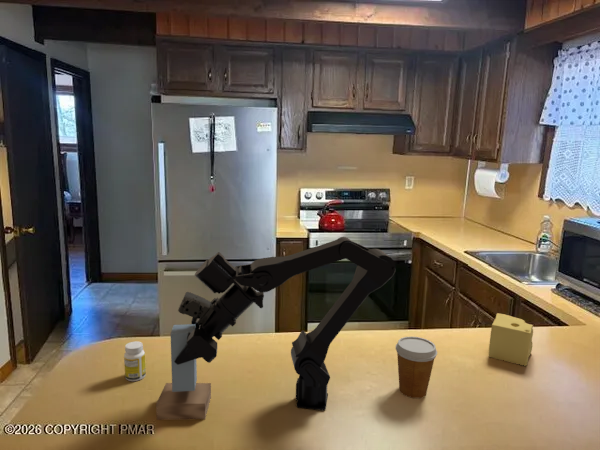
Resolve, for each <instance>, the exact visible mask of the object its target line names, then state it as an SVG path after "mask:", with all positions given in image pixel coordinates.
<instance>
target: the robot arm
mask: <svg viewBox="0 0 600 450" xmlns="http://www.w3.org/2000/svg"><path fill="white" fill-rule="evenodd" d="M342 260H347V261H350V262H351V263H353V264H355V265H356V269H355V273H354V275H353V277H352V280H351V282H350V283H349V284H348V285H347V287H346V288H345V289H344V291H343V292H342V293H341V295H340V296H339V297H338V298H337V300H336V301H335V302H334V304H333V305H332V306H331V307H330V309H329V310H328V312H326V314H325V316H323V318H322V319H321V321H320V322H319V323H318V324H317V326H316V327H315V328H314V329H313V330H311V331H309V332H307V333H306V331H305V330H301V332H300V333H299V335H298V337H297V338H296V339H295V340H294V341H292V342H291V346H292V347H291V350H290V355H291V356H290V357H291V361H292V365H293V368H294V371H295V373H296V374H297V375H298V378H297V380H296V383H295V401H297V402H296V403H295V404H296V407H297V408H301V409H308V410H316V411H317V410H318V411H326V409H327V405H328V404H327V403H328V397H329V393H328V384H329V382H330V380H331V375H330V374H329V370H328V368H327V366H326V363H325V360H326V358H327V354H328V352H329V348H330V345H331V344H332V342H333V341H334V339H335V338H336V337H337V336H338V335H339V333H340V332H341V330H343V328H344V327H345V326H346V324H347V323H348V322H349V320H350V319H351V318H352V316H353V315H354V314H355V313H356V312H357V310H358V309H359V308H360V306H361V305H362V304H363V302H365V301H366V299H367V297H368V296H369V295H370V294H371V293H373V292H375V291H376V290H379V289H380V288H382V287H383V286H384V285H385V284H386V283H387V282H389V280H390V279H392V278H393V277H394V275H395V273H396V269H397V268H396V263H395V261H394V259H393V258H391V256H389V255H388V254H387V253H385V252H384V251H382V250H381V249H379V248H368V247H366V246H364V245H361V244H360V243H357V242H355V241H353V240H351V239H350V238H348V237H346V236H340V237H339V238H337V239H335V240H332V241H329V242H326V243H323V244H319V245H316V246H314V247H311V248H307V249H305V250H302V251H298V252H295V253H292V254H290V255H284V256H270V257H262V258H258V259H255V260H254V261H252V262H251V263H247V264H242V265H235V266H233V265H232V264H231V262H229V261H228V260H227V259H226V258H225V257H224V255H223V254H222V253H221V252H217V253H216V254H215V255H213V256H211V257H210V258H209V259H206V260H205V261H204V262H203V263H202V264H201V265H200V267H199V268H198V269H197V270H196V272H194V276H195V278H196V279H198V280H199V281H200V282H201V283H202V284H204V286H206V287H207V288H208V289H209V290H210V291H211V292H212V293H213V294H217V293H218V294H222V295H221V296H220V297H214V298H213V299H211V301H210V300H208V299H206V298H204V297H202V296H199V294H198V295H197V294H195V293H192V292H189V291H187V292H186V291H185V293H184V295H183V297H182V299H181V302H180V304H179V307H178V309H177V312H178V313H180V314H182V315H187V316H189V317H192V319H191V323H190V324H196V329H194V330H193V331H192V332H191V333H189V332H188V336H187V342H186V343H187V344H186V346H185V347H184V348H183V350H182V351H181V352H180V354H179V355H178V356H177V358H176V359H175V361H174V362H175V363H176V364H177V365H179V364H182V363H185V362H188V361H191V360H194V359H196V360H197V359H201V358H202V359H203V360H204V361H205V362H206V363H208V364H209V363H212V361H213V360H215V358H217V357H218V341H219V340H220V339H221V338H222V337H223V333H224V332H225V331H226V330H227V329H228V328H229V327H230V326H231V327H234V326H235V325H236V324H237V319H239V317H240V316H242V315H243V314H244V313H245V312H246V310H247V309H248V308H250V307H251V306H252V305H253V304H255V305H256V306H257V307H258V308H260V309H263V308H264V297H265V295H264V293H268V292H270V291H272V290H274V289H276V288H278V287H281V286H282V285H283V284H284V283H286V282H287V281H288V280H290V279H291V278H292V277H295V276H297V275H300V274H303V273H306V272H310V271H312V270H314V269H319V268H321V267H324V266H328V265H329V264H333V263H336V262H339V261H342ZM214 337H215V339H216V340H218V341H216V340H215V339H214Z"/></svg>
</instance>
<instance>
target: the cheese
mask: <svg viewBox="0 0 600 450" xmlns="http://www.w3.org/2000/svg"><path fill="white" fill-rule="evenodd" d="M533 327H534V325H533V324H530V323H527V322H526V320H524V319H522V318H518V317H515V316H511V315H508V314H504V313H498V312H497V313H496V315H495V318H494V320H493V322H492V324H491V331H490V336H489V337H490V338H489V344H488V357H489V358H492V359H494V360H495V359H496V360H500V361H503V360H504V362H508V363H512V364H515V363H516V365H519V364H520V366H523V365H524V366H523V367H527V365H528V361H529V357H530V356H531V354H532V351H533V335H534V328H533Z"/></svg>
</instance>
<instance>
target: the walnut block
mask: <svg viewBox="0 0 600 450" xmlns="http://www.w3.org/2000/svg"><path fill="white" fill-rule="evenodd" d="M210 399H212V382H211V383H210V382H196V386H195V391H180V392H172V382H166V383H165V384H164V387H163V389H162V391H161V393H160V395H159V397H158V399H157V401H156V404H155V405H156V406H155V407H156V420H190V419H195V420H196V419H201V420H202V419H204V421H205V420H206V417H207V415H208V412H209V411H208V410H209V407H210V404H209V403H211V400H210ZM206 414H207V415H206ZM202 421H203V420H202Z"/></svg>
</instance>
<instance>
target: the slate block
mask: <svg viewBox="0 0 600 450" xmlns="http://www.w3.org/2000/svg"><path fill="white" fill-rule="evenodd" d="M194 329H196V324H191V323H187V324H173V326H172V328H171V332H170V357H171V358H170V362H171V383H172V392H180V391H195V386H196V383H197V381H198V376H197V372H198V371H197V366H198V365H197V359H194V360H191V361H188V362H185V363H182V364H179V365H177V364H176V363H175V362H174V361H175V359H176V358H177V356H178V355H179V354H180V352H181V351H182V350H183V348H184V347H185V346H186V344H187V343H186V342H187V336H188V332H189V333H191V332H192V331H193V330H194Z"/></svg>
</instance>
